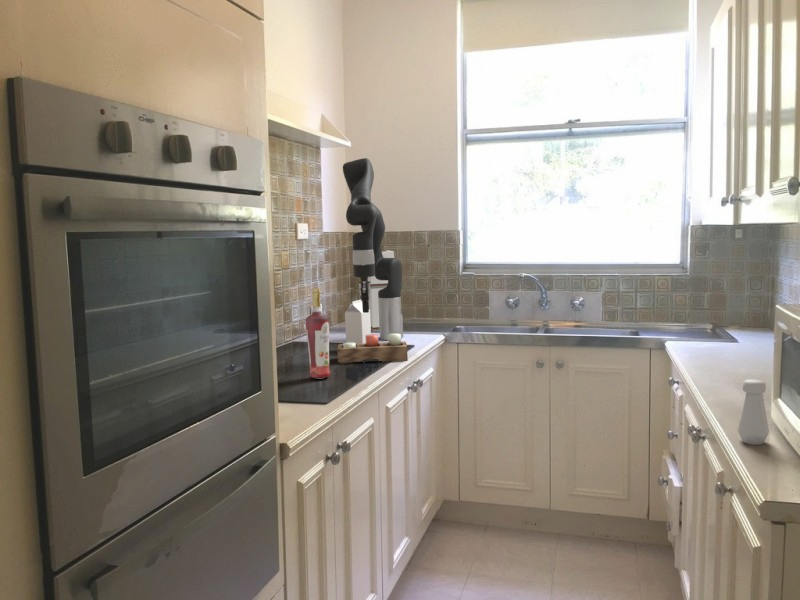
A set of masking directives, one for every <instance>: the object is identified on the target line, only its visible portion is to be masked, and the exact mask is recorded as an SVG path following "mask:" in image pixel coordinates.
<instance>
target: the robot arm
mask: <svg viewBox="0 0 800 600" xmlns="http://www.w3.org/2000/svg"><path fill="white" fill-rule="evenodd" d="M373 168H374V167H373V164H372V162H371V160H370V159H369V158H367V157H366V158H363V157H362V158H359V159H354V160H351V161H348V162H344V163H343V165H342V173H343V176H344V180H345V182H346V185H347V187H348V190H349V194H350V202H349V205H348V207H347V208H346V213H345V218H346V221H347V223H348V224H349V225H350V226H354V227H356V226H357V227H358V226H360V227H361V231H359V232H356V233H354V234H353V235H352V270H353V271H352V272H353V277H354V278H360V281H358V287H359V295H360V297H361V299H360V300H361V301H362V308H363V313H368V312H369V295H370V281H368V277H372V276H375V277H376V278H377V279H378V280H388V285H387V287H385V288H384V289H381V290H379V291H378V304H379V330H380V332H379V340H382V341H389V338H388V334H393V333H398V334H401V339H403V338H404V323H403V322H404V320H403V318H404V317H403V314H402V301H401V300H402V297H401V294H402V287H403V286H402V285H403V283H402V281H403V267H402V263H401V260H400V259H399V258H397V257H394V258H384V257H383V255H382V252H383V251H382V242H383V240H384V235H385V233H386V232H385V231H386V224H385V221H384V217H383V214H382V212H381V210H380V209H379V207H377V206H376V205H375V204H374V203H373V202H372V198H371V193H372V188H373V185H374V178H375V174H374V173H375V172H374V169H373Z"/></svg>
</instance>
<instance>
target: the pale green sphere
mask: <svg viewBox="0 0 800 600" xmlns="http://www.w3.org/2000/svg"><path fill="white" fill-rule="evenodd" d="M342 344H343V348H351V347H356V343H353V342H348V343H346V342H343V343H342Z"/></svg>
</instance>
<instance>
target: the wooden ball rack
mask: <svg viewBox="0 0 800 600" xmlns="http://www.w3.org/2000/svg"><path fill="white" fill-rule="evenodd" d="M378 344H379V345H378V346H366V343H356V347H351V348H343V343H339V344H338V346H337V363H338V362H349V361H352V362H353V361H363V360H367V359H378V360H379V361H382V362H383V363H384V362H385V363H386V362H406V361H407V362H408V360H409V359H408V345H407V342H406V340H404V341H402V340H401V345H389V341H383V342H382V341H381V342H379V341H378ZM382 362H381V363H382Z"/></svg>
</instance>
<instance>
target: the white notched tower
mask: <svg viewBox="0 0 800 600" xmlns="http://www.w3.org/2000/svg"><path fill="white" fill-rule="evenodd" d="M382 255H383V257H384V258H395V251H393V250H388V249H387V250H385V251H382ZM368 281H370V295H369V310H370V322H371V333H380V330H379V304H378V291H379V290H381V289H384V288H385V287H387V285H388V280H378V279H377V278H376V277H375V276H372V277H368Z"/></svg>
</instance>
